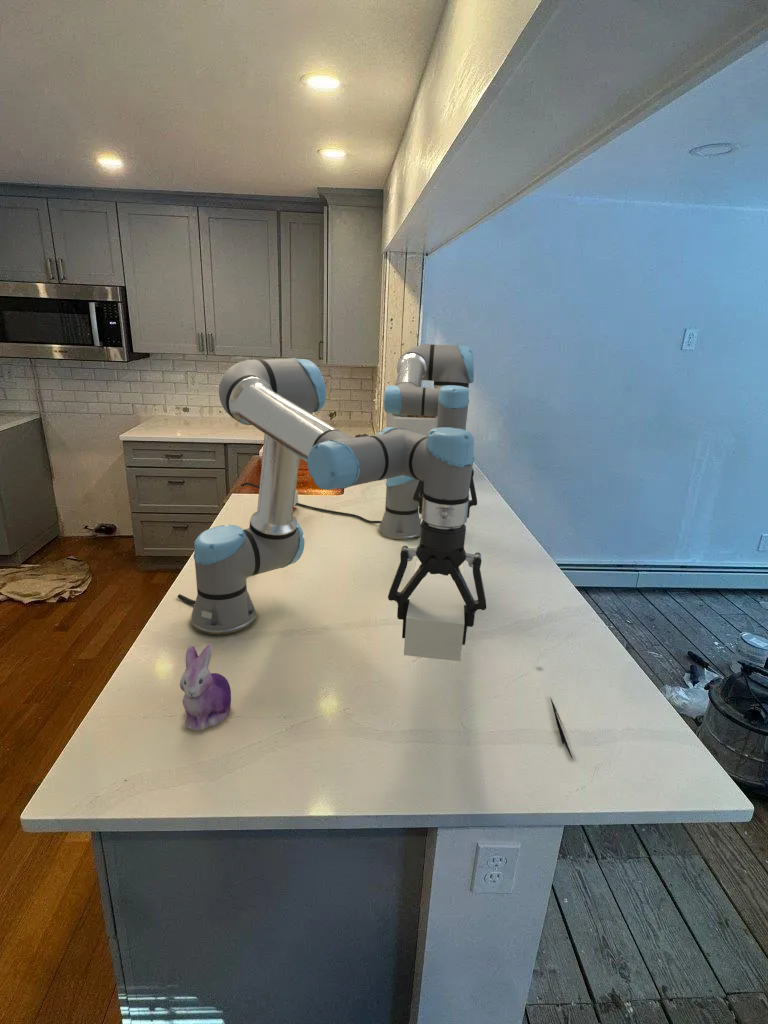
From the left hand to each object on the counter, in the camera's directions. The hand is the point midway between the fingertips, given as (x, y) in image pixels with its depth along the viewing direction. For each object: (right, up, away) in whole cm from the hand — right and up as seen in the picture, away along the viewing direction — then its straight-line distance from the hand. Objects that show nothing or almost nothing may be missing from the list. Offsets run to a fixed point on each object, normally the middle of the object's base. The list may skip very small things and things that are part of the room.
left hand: (433, 637), depth 102 cm
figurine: (-43, -16, +6) cm, 46 cm away
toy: (-48, +20, +107) cm, 119 cm away
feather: (+25, -17, +12) cm, 33 cm away
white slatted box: (+8, +41, +173) cm, 178 cm away
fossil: (-24, +54, +205) cm, 214 cm away
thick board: (+3, +9, +27) cm, 28 cm away
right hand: (+7, +19, +53) cm, 56 cm away
